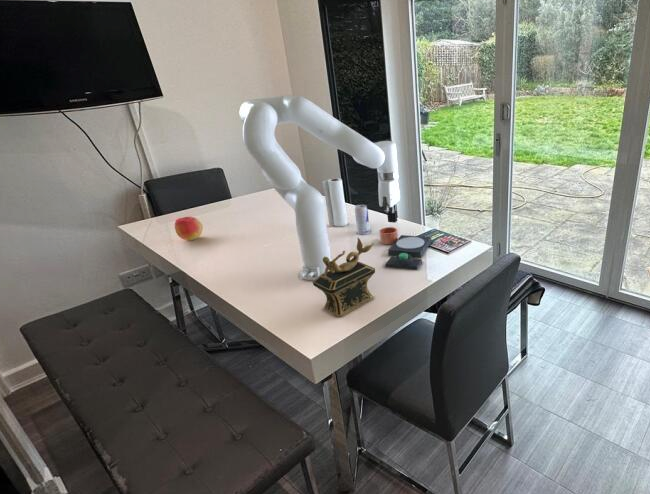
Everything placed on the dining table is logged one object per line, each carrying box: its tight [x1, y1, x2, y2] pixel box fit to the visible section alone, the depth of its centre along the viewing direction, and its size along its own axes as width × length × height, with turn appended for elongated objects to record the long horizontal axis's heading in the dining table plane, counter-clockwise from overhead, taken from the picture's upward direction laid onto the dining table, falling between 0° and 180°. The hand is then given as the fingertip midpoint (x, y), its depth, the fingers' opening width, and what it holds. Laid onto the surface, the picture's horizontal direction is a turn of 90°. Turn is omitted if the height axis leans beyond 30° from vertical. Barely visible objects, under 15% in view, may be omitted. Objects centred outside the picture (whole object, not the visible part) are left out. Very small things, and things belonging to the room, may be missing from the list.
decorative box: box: [312, 237, 376, 317], centre depth 124 cm, size 20×10×20 cm, turn 143°
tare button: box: [399, 253, 408, 260], centre depth 149 cm, size 3×3×2 cm
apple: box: [174, 216, 203, 241], centre depth 173 cm, size 10×10×10 cm
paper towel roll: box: [322, 177, 349, 227], centre depth 184 cm, size 7×6×21 cm
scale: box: [387, 234, 432, 259], centre depth 163 cm, size 15×13×3 cm
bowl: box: [379, 226, 399, 246], centre depth 169 cm, size 7×7×5 cm
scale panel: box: [385, 254, 423, 271], centre depth 150 cm, size 6×12×3 cm, turn 79°
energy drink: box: [354, 204, 371, 235], centre depth 177 cm, size 5×5×12 cm
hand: (392, 221), depth 158 cm, fingers closed
